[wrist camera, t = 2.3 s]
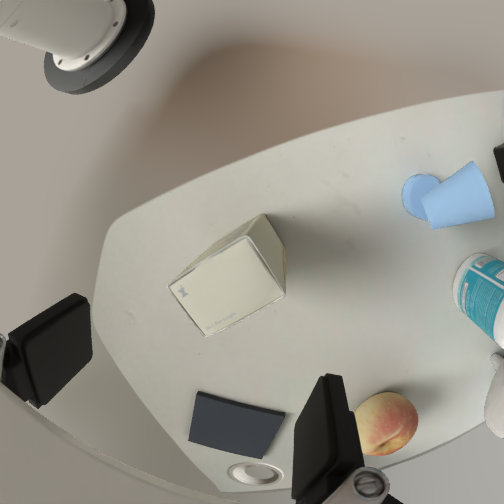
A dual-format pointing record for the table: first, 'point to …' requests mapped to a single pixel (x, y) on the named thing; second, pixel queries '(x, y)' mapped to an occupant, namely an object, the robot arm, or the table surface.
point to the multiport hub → (500, 159)
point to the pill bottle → (482, 294)
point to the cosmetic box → (233, 278)
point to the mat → (233, 426)
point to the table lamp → (496, 398)
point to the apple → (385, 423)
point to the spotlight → (449, 198)
